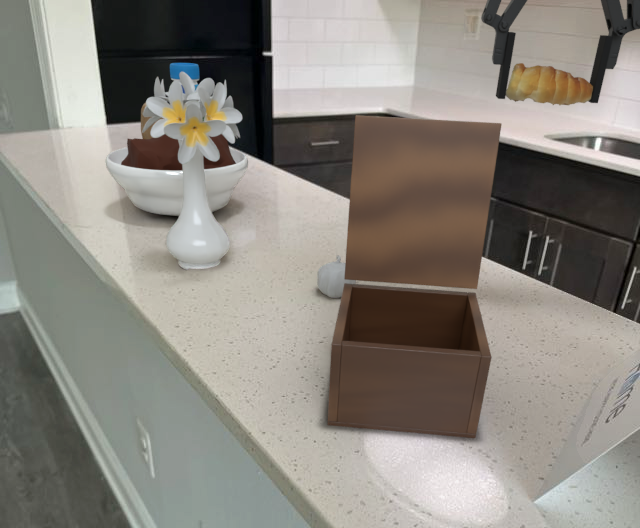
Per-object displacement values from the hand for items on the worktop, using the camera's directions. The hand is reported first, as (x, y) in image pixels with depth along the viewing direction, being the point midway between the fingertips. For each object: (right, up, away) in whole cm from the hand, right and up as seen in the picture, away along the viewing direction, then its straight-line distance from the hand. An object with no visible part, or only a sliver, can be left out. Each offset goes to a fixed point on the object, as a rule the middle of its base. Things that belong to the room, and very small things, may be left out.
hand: (545, 99), depth 76 cm
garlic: (-24, -20, +14) cm, 34 cm away
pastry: (0, 0, 0) cm, 1 cm away
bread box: (-18, -35, -8) cm, 40 cm away
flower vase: (-43, -14, +22) cm, 51 cm away
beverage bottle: (-59, +30, +88) cm, 110 cm away
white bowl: (-52, +2, +46) cm, 70 cm away
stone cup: (-60, +16, +66) cm, 91 cm away
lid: (-16, -16, -11) cm, 25 cm away
